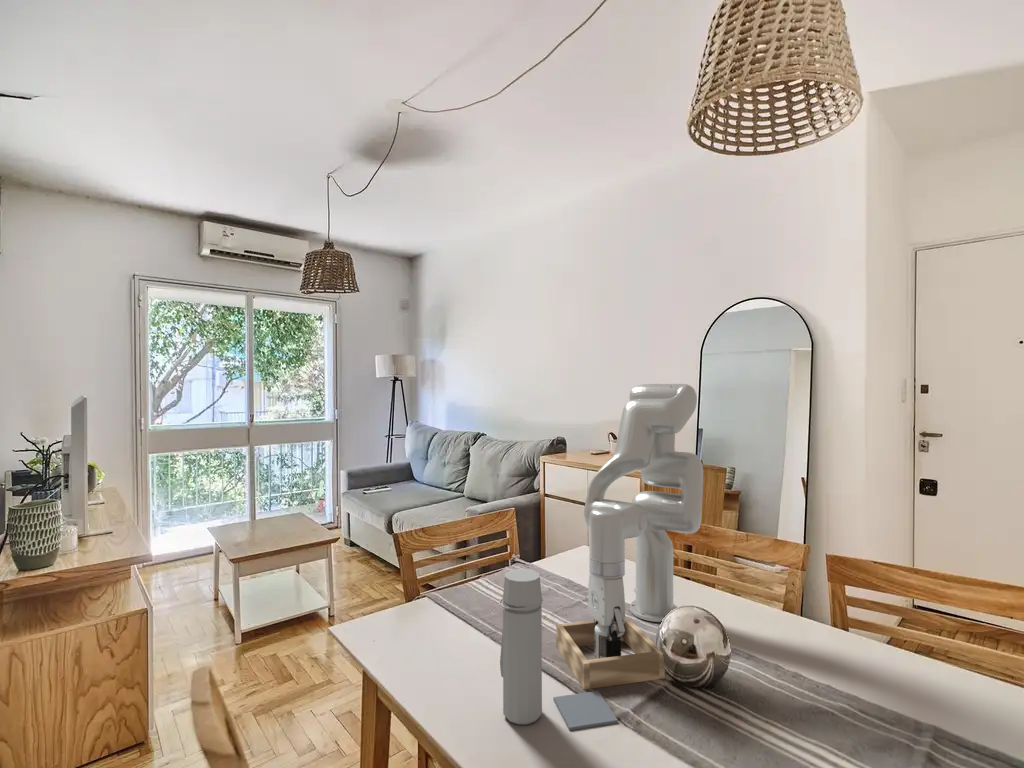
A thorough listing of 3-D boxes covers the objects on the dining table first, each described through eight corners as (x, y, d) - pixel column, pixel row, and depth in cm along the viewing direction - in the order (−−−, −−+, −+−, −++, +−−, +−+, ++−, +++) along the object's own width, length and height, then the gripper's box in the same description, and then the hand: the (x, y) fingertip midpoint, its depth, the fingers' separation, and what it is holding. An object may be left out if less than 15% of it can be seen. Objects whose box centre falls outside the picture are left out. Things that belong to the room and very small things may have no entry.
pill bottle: (625, 663, 110) (625, 617, 110) (607, 671, 107) (606, 623, 107) (607, 652, 115) (607, 608, 115) (589, 659, 112) (589, 614, 112)
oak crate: (556, 646, 117) (556, 624, 117) (626, 638, 121) (626, 616, 121) (583, 689, 100) (583, 663, 100) (664, 678, 104) (664, 653, 104)
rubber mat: (553, 699, 97) (553, 697, 97) (598, 693, 99) (598, 690, 99) (569, 730, 88) (569, 727, 88) (617, 722, 90) (617, 719, 90)
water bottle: (552, 713, 93) (551, 574, 93) (521, 734, 87) (521, 586, 88) (516, 692, 99) (515, 562, 100) (485, 710, 94) (485, 573, 94)
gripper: (576, 555, 119) (577, 634, 118) (606, 582, 102) (607, 674, 102) (607, 552, 120) (607, 630, 120) (641, 579, 104) (642, 669, 103)
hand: (607, 649), depth 111 cm, fingers open, 5 cm apart
